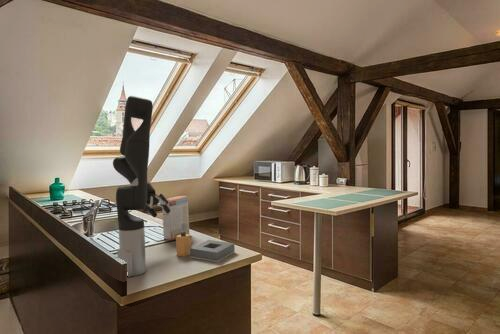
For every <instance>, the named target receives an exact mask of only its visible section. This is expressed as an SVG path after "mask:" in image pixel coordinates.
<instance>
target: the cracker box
mask: <svg viewBox="0 0 500 334" xmlns="http://www.w3.org/2000/svg"><path fill="white" fill-rule="evenodd" d="M166 199H167V201H168V202H169V203H168V204H167V206H168V207H169V209H170V212H169V213H168V214H167V213H166V212H165V210H164V209H163V207H161V209H162V212H161V213H162V227H163V228H162V229H163V231H162V233H163V240H165V239H169V240H168V241H174V240H176V236H178V235H180V233H181V224H182V223H187V224H188V225H187V229H188V233H189V234H190V222H189V221H190V218H189V216H190V215H189V198H188V196H187V195H178V196H174V197H173V196H172V197H168V198H166ZM164 202H165V201H164ZM161 204H162V203H161ZM162 205H163V204H162Z"/></svg>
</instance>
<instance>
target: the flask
mask: <svg viewBox="0 0 500 334" xmlns="http://www.w3.org/2000/svg"><path fill="white" fill-rule="evenodd" d="M187 225H188V224H187V223H182V224H181V232H186V234H188V235H190V232H189V233H188V229H187ZM180 235H181V233H180ZM190 240H191V245H192V244H193V243H194V242H193V240H192V238H191V237H190Z"/></svg>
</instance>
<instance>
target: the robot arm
mask: <svg viewBox="0 0 500 334" xmlns="http://www.w3.org/2000/svg"><path fill="white" fill-rule="evenodd" d="M153 106H154V104H153V102H152V99H148V98H143V97H141V96H140V97H139V96H135V95H129V96H128V97H127V99H126V102H125V107H124V113H123V114H124V115H123V123H122V124H123V125H122V126H123V128H122V129H123V130H122V137H121V143H120V146H119V153H120V155H122V156H117V157H115V158H114V159H113V160H112V166H113V168H114V170H115V171H116V172H117V173H118V174H119V175H120V176H122V177H123V178H124V179H126V180H127V181H128V182H129V184H130V185H120V186H118V187H117V189H116V191H115V203H116V204H115V205H116V212H117V225H118V226H117V227H118V244H119V245H118V246H119V248H118V249H117V251H116V252H117V259H118V258H120V259H122V260H124V261H125V262H127V272H128V278H131V276H132V277H136V276H139V275H142V274H144V273H146V272H147V264H146V263H147V262H146V238H145V234H146V233H145V220H144V219H143V218H141V217H137V216H135V215H133V214H131V213H130V212H129V211H141V210H143V212H148V213H149V214H150V216H151V217H153V218H156V217H157V216H158V213H157V212H156V210H155V209H154V208H153V206H157V207H161V208H162V207H163V209H164V210H165V212H166V213H167V214H168V213H169V212H170V209H169V207H168V206H167V204H168V203H169V202H168V201H167V199H168V198H166V197H165V196H164V195H163V193H160V194H159V195H157V194H156V190H155V188H154V187H153V185H152V184H151V183H150V181H149V180H148V170H149V169H148V168H149V167H148V166H149V157H150V135H151V134H150V133H151V124H152V116H153V109H154V107H153ZM132 118H133V119H138V120H142V123H141V124H140V125H139V127H138V128H137V129H136V130H135V128H134V125H133V123H132ZM164 201H165V202H164ZM162 204H163V205H162Z"/></svg>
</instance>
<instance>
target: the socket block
mask: <svg viewBox="0 0 500 334" xmlns="http://www.w3.org/2000/svg"><path fill="white" fill-rule="evenodd" d="M234 253H235V243H233V242H227V241H220V240H213V239H212V240H211V239H208V240H207V239H206V240H205V241H202V242H200V243H198V244H196V245H194V246H192V247H191V248H190V254H189V258H193V259H197V260H203V261H210V262H214V263H218V262H220V261H222V260H224V259H225V258H228V257H229V256H230V255H232V254H234Z"/></svg>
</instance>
